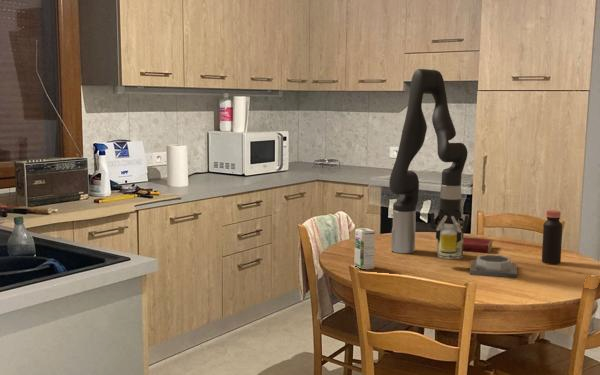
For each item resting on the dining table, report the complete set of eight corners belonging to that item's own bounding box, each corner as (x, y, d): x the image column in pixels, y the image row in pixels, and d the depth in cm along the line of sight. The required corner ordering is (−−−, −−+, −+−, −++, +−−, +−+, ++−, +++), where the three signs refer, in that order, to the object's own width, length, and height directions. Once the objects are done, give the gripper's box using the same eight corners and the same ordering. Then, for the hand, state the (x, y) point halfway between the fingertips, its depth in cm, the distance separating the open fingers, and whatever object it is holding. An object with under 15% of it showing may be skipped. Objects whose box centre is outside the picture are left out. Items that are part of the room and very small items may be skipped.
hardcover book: (488, 254, 261) (489, 244, 260) (437, 249, 270) (437, 240, 269) (492, 248, 272) (493, 238, 271) (443, 244, 280) (443, 234, 280)
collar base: (469, 274, 229) (470, 262, 229) (471, 263, 244) (472, 252, 244) (516, 278, 225) (517, 265, 224) (515, 266, 240) (516, 255, 239)
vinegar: (546, 259, 251) (548, 209, 248) (563, 262, 246) (566, 211, 244) (538, 262, 246) (541, 211, 244) (555, 265, 241) (558, 213, 239)
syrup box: (353, 266, 240) (354, 228, 238) (367, 265, 243) (368, 227, 241) (361, 270, 235) (361, 231, 233) (375, 268, 237) (375, 230, 235)
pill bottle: (456, 256, 235) (458, 225, 233) (438, 255, 237) (440, 224, 235) (456, 251, 241) (457, 221, 240) (438, 250, 243) (440, 220, 241)
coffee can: (445, 251, 264) (446, 218, 262) (467, 256, 257) (469, 221, 255) (431, 256, 256) (432, 221, 255) (454, 260, 249) (455, 225, 248)
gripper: (429, 197, 234) (427, 241, 237) (470, 199, 230) (467, 245, 233) (431, 194, 241) (430, 237, 244) (471, 196, 237) (468, 240, 240)
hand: (448, 240), depth 238 cm, fingers closed on pill bottle, 6 cm apart
